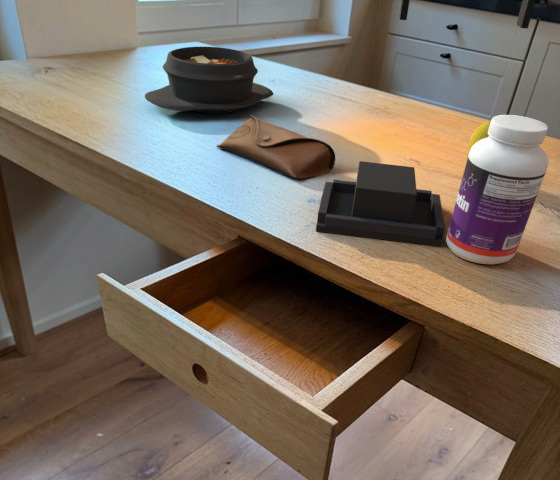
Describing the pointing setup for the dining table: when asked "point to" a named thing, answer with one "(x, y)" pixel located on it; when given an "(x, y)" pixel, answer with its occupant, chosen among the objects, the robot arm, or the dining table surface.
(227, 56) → the casserole
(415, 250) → the dining table surface
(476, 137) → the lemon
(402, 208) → the black block
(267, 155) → the sunglasses case
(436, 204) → the base pad
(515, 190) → the pill bottle
